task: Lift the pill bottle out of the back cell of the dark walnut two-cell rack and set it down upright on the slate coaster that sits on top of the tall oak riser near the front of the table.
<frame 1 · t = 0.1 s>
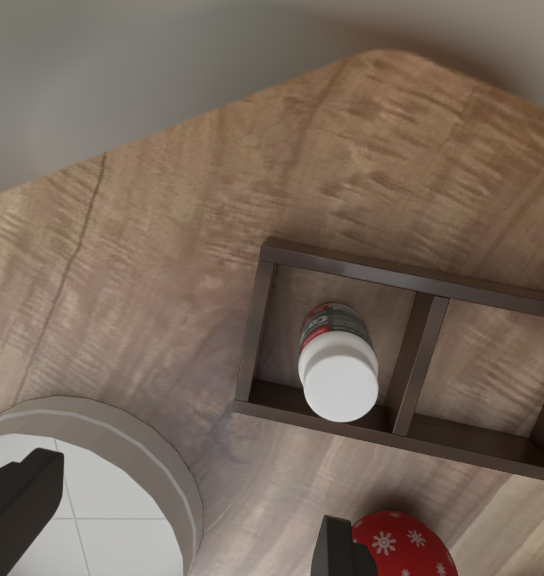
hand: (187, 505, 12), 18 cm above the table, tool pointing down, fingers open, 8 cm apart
dish: (84, 504, 36), on the table
rack: (407, 348, 29), on the table
pill bottle: (333, 331, 30), resting in rack
christmas ornament: (385, 527, 34), on the table
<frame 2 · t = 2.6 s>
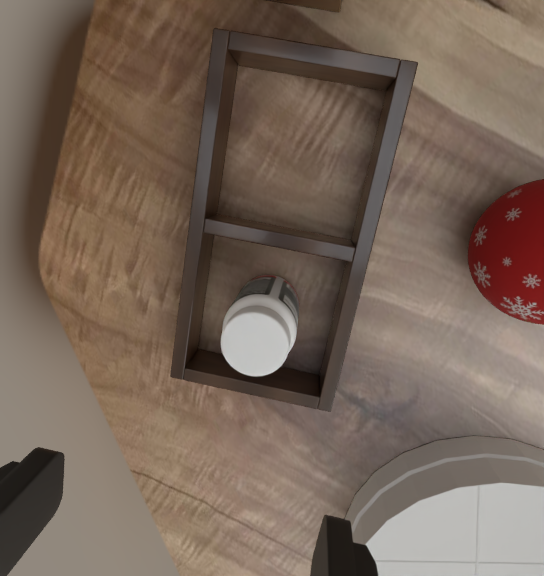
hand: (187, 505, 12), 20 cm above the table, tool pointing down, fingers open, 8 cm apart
dish: (469, 545, 35), on the table
rack: (282, 233, 30), on the table
pill bottle: (269, 302, 31), resting in rack
christmas ornament: (512, 241, 28), on the table
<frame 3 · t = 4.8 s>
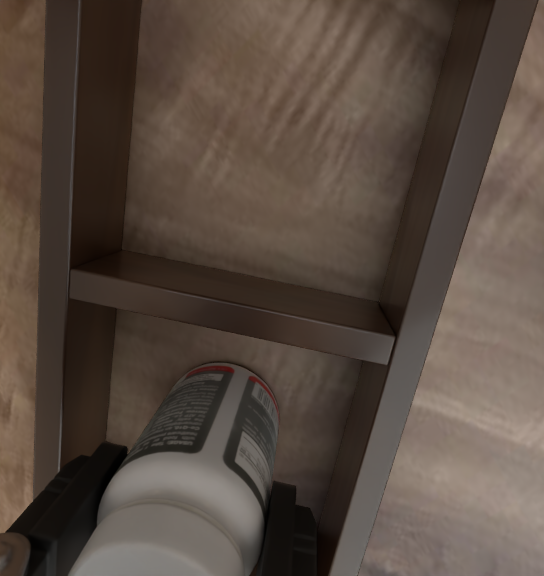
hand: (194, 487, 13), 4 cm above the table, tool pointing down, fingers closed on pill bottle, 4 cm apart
rack: (246, 287, 15), on the table
pill bottle: (225, 408, 17), resting in rack, touching gripper
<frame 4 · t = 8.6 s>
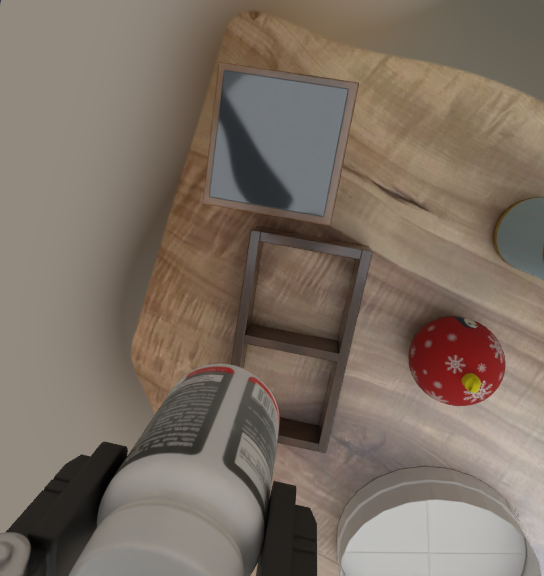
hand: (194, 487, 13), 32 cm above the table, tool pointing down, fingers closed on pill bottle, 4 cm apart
dish: (425, 541, 50), on the table
bottle: (527, 233, 40), on the table
riser: (295, 162, 41), on the table
rack: (293, 336, 46), on the table
pill bottle: (225, 409, 17), point 28 cm above the table, touching gripper
christmas ornament: (441, 343, 44), on the table
coaster: (276, 146, 24), resting on riser
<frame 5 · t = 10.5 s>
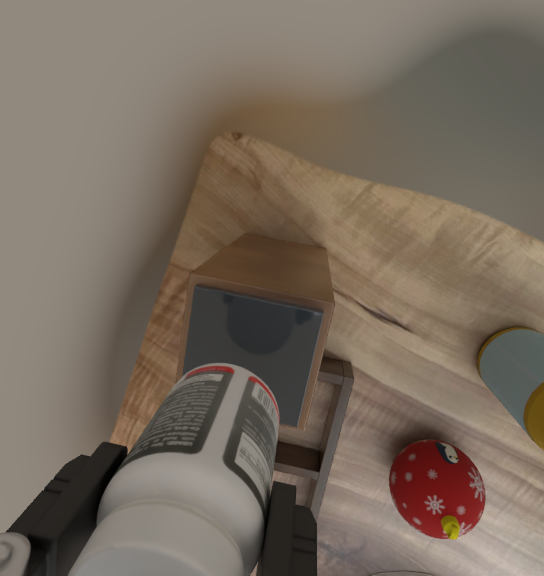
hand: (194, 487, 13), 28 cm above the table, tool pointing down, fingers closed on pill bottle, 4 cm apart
bottle: (511, 357, 40), on the table
riser: (278, 280, 40), on the table
rack: (273, 444, 45), on the table
pill bottle: (225, 409, 17), point 24 cm above the table, touching gripper
christmas ornament: (423, 456, 43), on the table
coaster: (249, 354, 23), resting on riser
when the fingers open (23 cm above the table, at t = 12.2 s): pill bottle stays where it is, resting on coaster.
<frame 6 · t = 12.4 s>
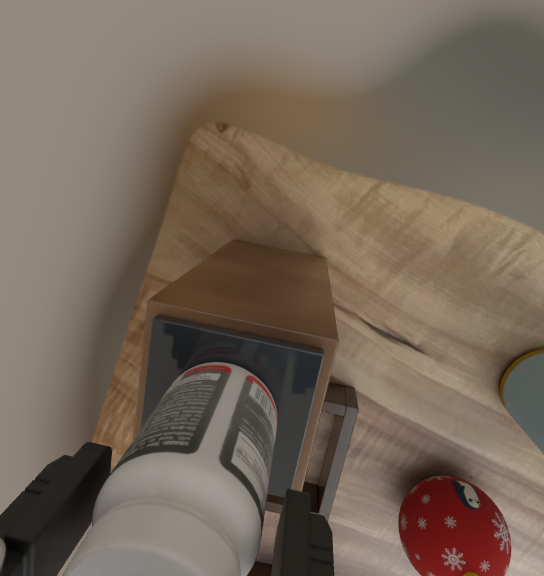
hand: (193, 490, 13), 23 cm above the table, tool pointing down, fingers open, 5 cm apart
bottle: (538, 382, 35), on the table
riser: (270, 293, 35), on the table
rack: (266, 477, 40), on the table
pill bottle: (223, 408, 17), point 18 cm above the table, touching coaster
christmas ornament: (436, 492, 38), on the table
coaster: (227, 405, 17), resting on riser
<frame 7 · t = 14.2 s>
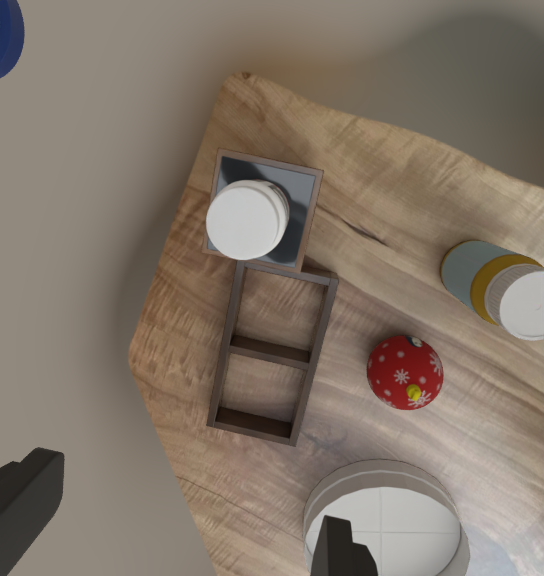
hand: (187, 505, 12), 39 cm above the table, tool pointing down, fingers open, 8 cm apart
dish: (378, 523, 59), on the table
bottle: (468, 268, 48), on the table
riser: (277, 200, 48), on the table
rack: (270, 346, 53), on the table
pill bottle: (258, 212, 30), point 18 cm above the table, touching coaster
christmas ornament: (396, 356, 52), on the table
coaster: (260, 212, 31), resting on riser
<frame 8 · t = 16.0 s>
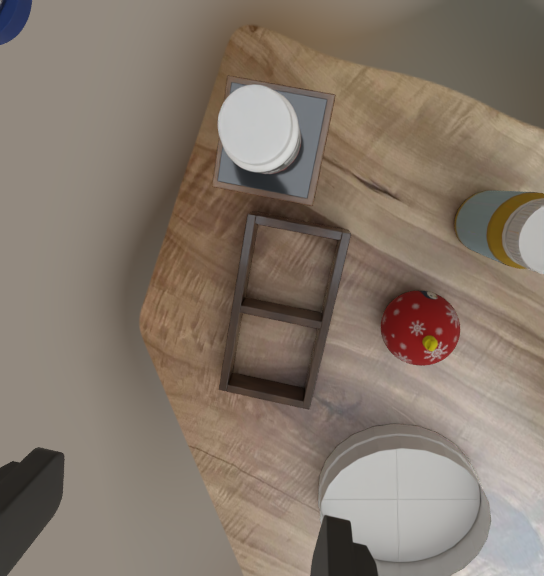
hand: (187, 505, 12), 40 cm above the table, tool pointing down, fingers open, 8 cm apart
dish: (395, 491, 58), on the table
bottle: (483, 221, 47), on the table
riser: (287, 156, 47), on the table
rack: (282, 308, 52), on the table
pill bottle: (269, 140, 30), point 18 cm above the table, touching coaster
christmas ornament: (410, 315, 51), on the table
coaster: (271, 142, 30), resting on riser
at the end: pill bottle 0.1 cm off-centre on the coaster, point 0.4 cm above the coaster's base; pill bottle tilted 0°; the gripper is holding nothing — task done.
